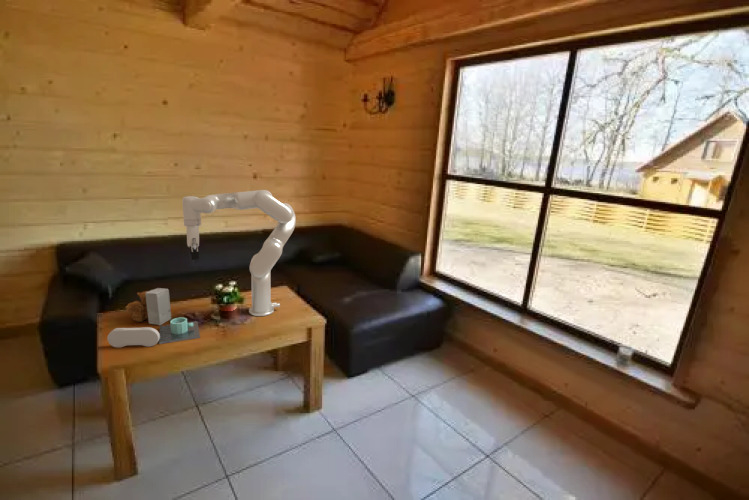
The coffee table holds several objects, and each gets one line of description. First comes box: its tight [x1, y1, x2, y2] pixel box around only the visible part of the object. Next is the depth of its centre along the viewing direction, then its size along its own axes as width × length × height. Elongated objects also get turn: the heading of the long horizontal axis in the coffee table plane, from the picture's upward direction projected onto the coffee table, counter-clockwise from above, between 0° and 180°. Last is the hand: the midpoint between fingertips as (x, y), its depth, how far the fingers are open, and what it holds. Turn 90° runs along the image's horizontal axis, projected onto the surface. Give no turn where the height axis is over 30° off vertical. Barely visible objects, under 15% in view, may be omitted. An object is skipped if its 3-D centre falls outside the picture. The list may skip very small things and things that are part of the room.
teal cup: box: [169, 316, 193, 334], centre depth 174 cm, size 7×9×5 cm
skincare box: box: [145, 287, 172, 326], centre depth 182 cm, size 8×7×16 cm
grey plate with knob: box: [158, 320, 201, 345], centre depth 174 cm, size 16×16×5 cm
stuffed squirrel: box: [124, 290, 150, 323], centre depth 185 cm, size 10×14×13 cm
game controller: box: [106, 326, 160, 348], centre depth 161 cm, size 20×2×8 cm, turn 100°
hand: (194, 256), depth 187 cm, fingers open, 9 cm apart
